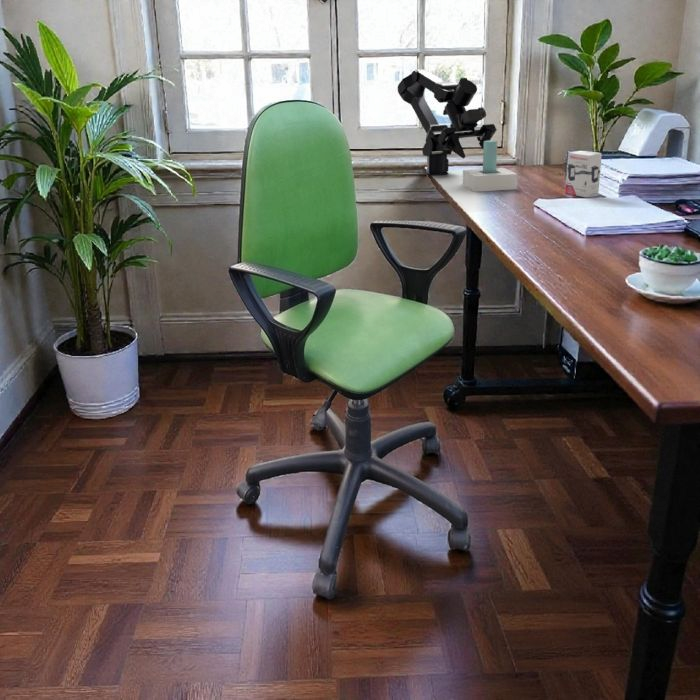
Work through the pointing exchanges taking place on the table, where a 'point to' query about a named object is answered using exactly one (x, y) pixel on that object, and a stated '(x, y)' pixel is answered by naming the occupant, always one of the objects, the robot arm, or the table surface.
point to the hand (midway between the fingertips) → (476, 156)
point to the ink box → (583, 173)
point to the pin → (489, 157)
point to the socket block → (489, 180)
